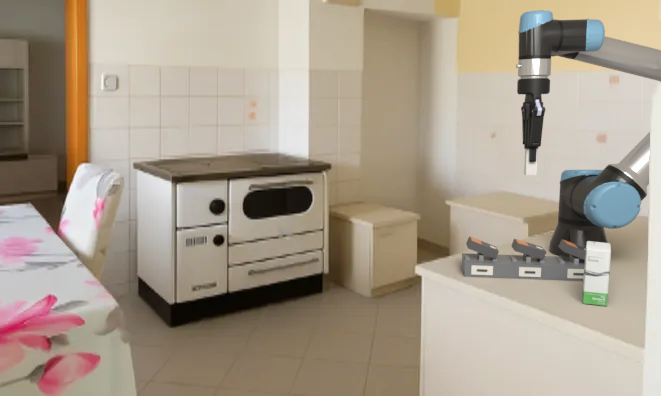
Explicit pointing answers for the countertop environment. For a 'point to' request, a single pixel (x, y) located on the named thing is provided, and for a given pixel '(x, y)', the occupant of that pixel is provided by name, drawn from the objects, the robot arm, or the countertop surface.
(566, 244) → the rocker
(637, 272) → the countertop surface
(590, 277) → the ink box
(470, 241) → the rocker
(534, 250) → the rocker
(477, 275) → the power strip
